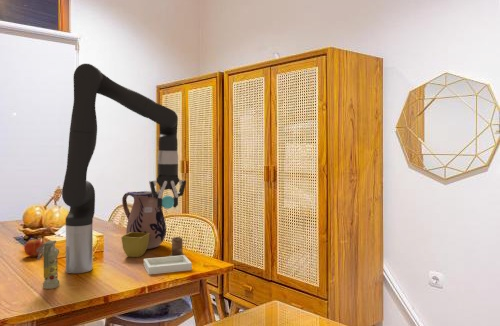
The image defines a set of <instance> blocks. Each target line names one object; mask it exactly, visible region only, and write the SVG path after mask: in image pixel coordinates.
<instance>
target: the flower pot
mask: <svg viewBox="0 0 500 326" xmlns="http://www.w3.org/2000/svg"><path fill="white" fill-rule="evenodd" d="M149 234H150V233H140V232H130V233H128V234H126V233H125V234H123V235H122V236H121V245H122V249H123V251H124V254H125V255H126V257H129V258H130V257H131V258H140V257H141V256H144V255H145V253H146V251H147V250H148V249H147V247H148V242H149Z"/></svg>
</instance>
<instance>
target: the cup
mask: <svg viewBox="0 0 500 326" xmlns="http://www.w3.org/2000/svg"><path fill="white" fill-rule="evenodd" d="M183 241H184V239H183V236H182V237H181V236H175V237H172V238H171V253H170V254H169V256H179V255H185V253H184V252H183V249H184V248H183V245H184V242H183Z"/></svg>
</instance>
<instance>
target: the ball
mask: <svg viewBox="0 0 500 326" xmlns="http://www.w3.org/2000/svg"><path fill="white" fill-rule="evenodd" d="M161 198H162V208H163V209H167V210H168V209H172V208H174V207H173V205H174V199H173V196H171V195H164V196H163V197H161Z"/></svg>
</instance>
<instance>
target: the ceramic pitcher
mask: <svg viewBox="0 0 500 326" xmlns="http://www.w3.org/2000/svg"><path fill="white" fill-rule="evenodd" d="M156 194H158V192H157V191H156ZM128 196H130V197H132V198H133V204H132V207H131V210H130V209H129V207H128V201H127V199H128ZM121 201H122V208H123V210H124V211H123V212H124V213H125V216H126V219H127V222H126V230H125V231H126V233H125V235H126V234H128V233H130V232H140V233H150V234H149V242H148V247H147V249H146V250H150V249H155V248H157V247H159V246H160V245H161V244H163V241H164V240H165V238H166V236H167V235H166V234H167V224H166V220H165V216H164V213H163V210H162V208H159V207H158V206H157V197H154V196H153V195H152V192H151V190H149V191H147V190H146V191H145V190H144V191H127V192H126V193H124V194H123V196H122V200H121Z"/></svg>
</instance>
